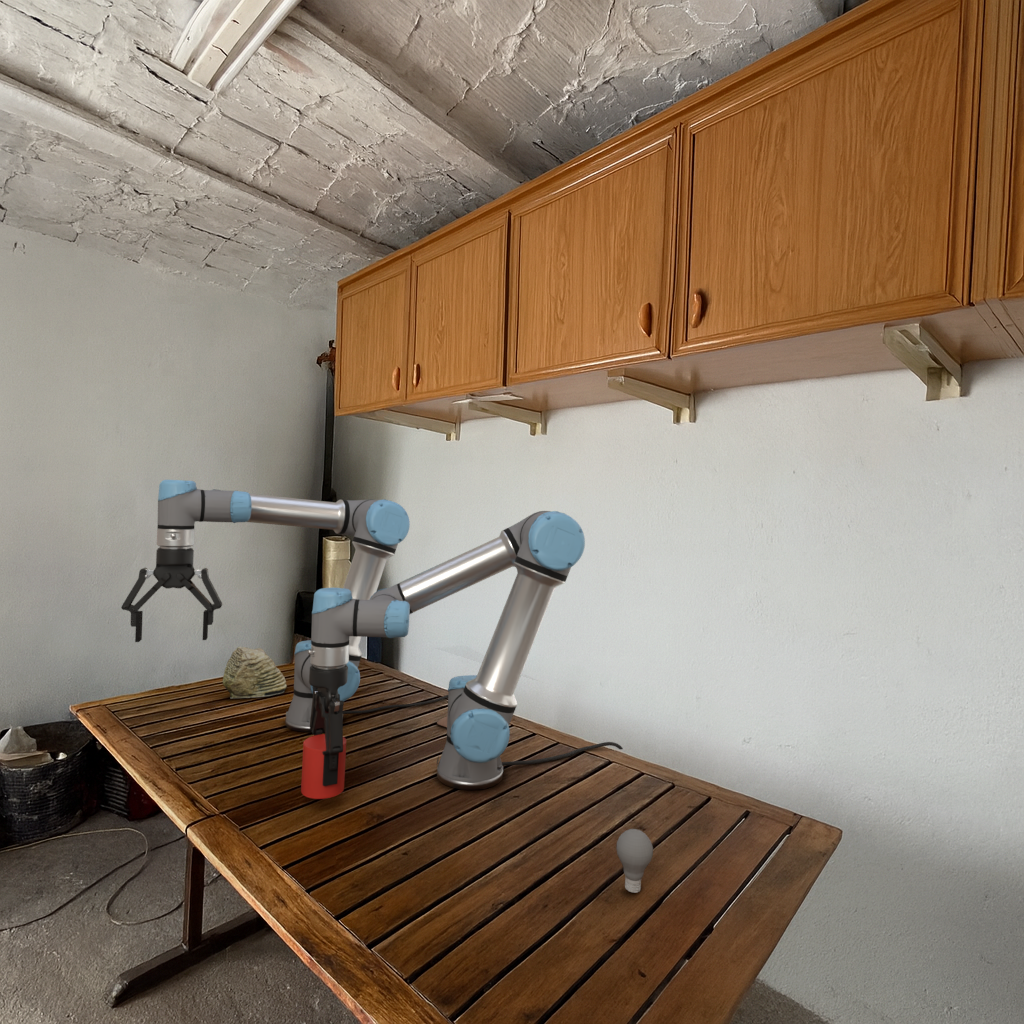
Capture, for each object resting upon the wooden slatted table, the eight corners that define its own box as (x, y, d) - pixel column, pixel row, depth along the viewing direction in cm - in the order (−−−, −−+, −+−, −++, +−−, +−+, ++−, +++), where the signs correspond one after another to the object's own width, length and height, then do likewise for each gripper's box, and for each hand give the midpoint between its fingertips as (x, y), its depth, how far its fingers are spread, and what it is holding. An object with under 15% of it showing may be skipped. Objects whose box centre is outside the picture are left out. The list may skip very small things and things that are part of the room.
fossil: (218, 695, 195) (220, 647, 195) (278, 685, 208) (279, 640, 207) (228, 703, 189) (230, 653, 188) (289, 692, 201) (290, 645, 201)
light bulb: (610, 879, 108) (613, 822, 108) (644, 879, 109) (647, 822, 109) (619, 902, 102) (622, 840, 102) (655, 901, 103) (658, 840, 103)
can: (343, 778, 134) (346, 732, 134) (344, 797, 126) (346, 748, 126) (301, 781, 132) (304, 734, 132) (300, 800, 124) (302, 750, 124)
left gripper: (107, 547, 137) (104, 645, 137) (233, 549, 145) (230, 641, 146) (116, 545, 144) (113, 637, 144) (236, 546, 152) (232, 634, 153)
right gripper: (297, 653, 136) (292, 758, 136) (324, 680, 118) (318, 801, 118) (332, 651, 140) (327, 752, 140) (363, 676, 122) (358, 793, 122)
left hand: (172, 640), depth 145 cm, fingers open, 13 cm apart
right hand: (323, 774), depth 129 cm, fingers closed on can, 8 cm apart
